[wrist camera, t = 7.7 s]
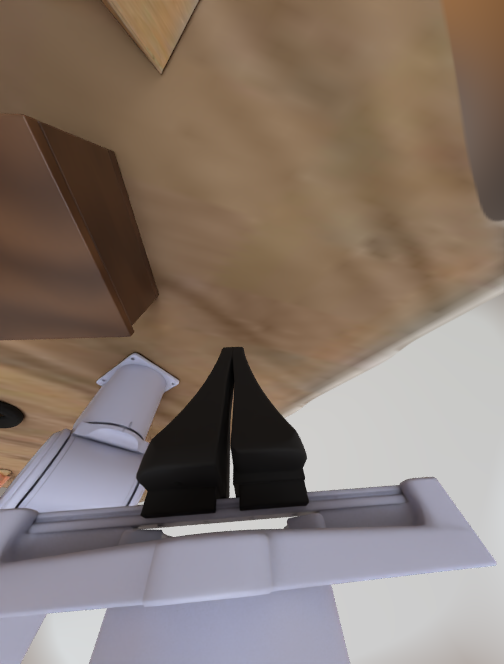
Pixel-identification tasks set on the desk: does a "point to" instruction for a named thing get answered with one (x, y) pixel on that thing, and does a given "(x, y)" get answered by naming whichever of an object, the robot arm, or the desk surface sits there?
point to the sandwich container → (153, 24)
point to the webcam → (9, 416)
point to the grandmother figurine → (4, 476)
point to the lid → (47, 248)
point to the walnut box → (105, 216)
